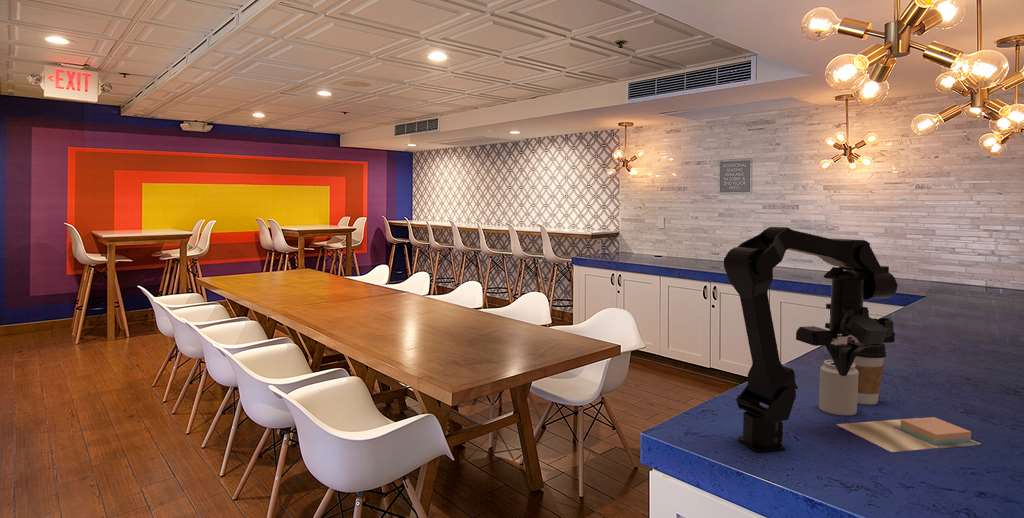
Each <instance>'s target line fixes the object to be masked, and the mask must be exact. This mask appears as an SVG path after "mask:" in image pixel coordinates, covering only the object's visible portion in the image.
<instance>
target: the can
mask: <svg viewBox="0 0 1024 518" xmlns="http://www.w3.org/2000/svg"><path fill="white" fill-rule="evenodd" d="M855 366H856V365H855V364H854V363H852V365H851V368H850V370H849V372H848V374H847V376H841V375H839V373H838V370H837V368H836V366H835V364H834V361H833V359H827V360H826V359H825V360H823V364H822V366H820V368H819V369H820V372H819V391H818V393H819V395H818V408H819V409H820V410H821V411H823V412H826V413H827V414H828V413H829V414H833V415H838V416H854V415H856V414H857V412H858V409H857V408H858V407H857V406H858V403H857V393H858V374H859V372H858V370H857V369H856V368H855Z"/></svg>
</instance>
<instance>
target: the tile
mask: <svg viewBox="0 0 1024 518" xmlns="http://www.w3.org/2000/svg"><path fill="white" fill-rule="evenodd" d="M915 418H916V419H910V418H902V419H903V420H901V426H900V429H901V430H903V431H906V432H908V433H910V434H912V435H914V436H917V437H919V438H921V439H923V440H926V441H928V442H930V443H932V444H935V445H940V444H951V443H962V442H971V440H972V431H971V430H968V429H965V428H962V427H960V426H958V425H955V424H953V423H950V422H947V421H945V420H942V419H940V418H937V417H935V416H933V417H920V418H919V417H915Z"/></svg>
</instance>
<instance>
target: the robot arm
mask: <svg viewBox="0 0 1024 518" xmlns="http://www.w3.org/2000/svg"><path fill="white" fill-rule="evenodd" d="M786 251H792V252H796V253H801V254H806V255H811V256H814V257H815V256H816V257H818V258H820V259H821V261H822V262H825V263H826V264H829V265H831V266H832V267H831V268H830V270H828V271H827V272H825V274H823V278H824V279H828V280H831V292H830V303H826V304H825V309H827V310H829V311H830V312H829V322H825V323H824V327H825V328H822V327H819V326H815V325H813V326H799V327H798V328H797V329H796V332H795V340H796V341H799V342H802V343H804V344H808V345H811V346H815V347H818V346H819V347H820V346H821V347H822V346H823V347H824V346H825V348H826V350H827V351H828V353H829V355H830V357H831V360H833V361H834V364H835V366H836V368H837V370H838V373H839V375H841V376H847V374H848V372H849V370H850V368H851V365H852V363H853V361H854V359H855V357H856V356H857V354H858V353H859V351H861V350H862V349H864V348H866V347H869V346H870V344H876V343H877V344H882V343H883V344H885V343H895V340H896V339H895V336H896V333H895V331H894V320H893V319H891V318H889V317H879V318H878V319H877V318H872V317H870V315H869V313H870V311H869V307H867V306H864V300H865V301H866V300H877V299H878V300H879V299H889V298H892V297H893V296H894V295H895V294H896V293H897V289H898V283H897V280H896V278H895V276H894V275H893V274H892V273H891V272H890V267H889V266H885V265H880V262H879V260H878V259H877V257H876V254H875V252H874V251H873V249H872V248H871V243H870V242H869V241H868V240H864V239H850V238H829V237H825V236H820V235H815V234H812V233H807V232H803V231H799V230H794V229H792V228H790V227H787V226H785V227H784V226H782V227H781V226H769V227H767V228H765V229H764V230H762V231H761V232H760V233H759V234H757V235H755V236H753V237H751V238H748V239H747V240H745V241H743V242H741V243H740V244H739V245H737V246H735V247H733V248H730V250H729V251H728V252H727V253H726V255H725V257H723V267H724V272H725V274H726V276H727V278H728V281H729V283H730V285H731V286H732V287H733V288H734V290H735V291H736V293H737V294H738V295H739V299H740V305H741V309H742V314H743V320H744V326H745V331H746V334H747V335H746V336H747V341H748V347H749V351H750V356H751V367H750V369H749V370H748V373H747V385H746V386H745V387H744V389H743V390H742V391H741V393H740V394H739V395H738V396H737V397H736V399H735V401H736V405H737V408H738V409H740V410H743V421H742V436H741V435H740V436H737V440H738V441H740V442H741V443H743V444H744V445H746V446H747V447H748V448H750V449H751V450H753V451H754V452H756V453H758V452H759V453H760V452H771V451H773V452H774V451H781V450H782V451H783V450H786V448H787V446H785V445H784V444H782V443H783V435H784V422H783V421H788V420H789V419H790V415H791V412H792V409H793V406H794V403H795V400H796V397H797V392H796V390H798V389H799V387H798V386H797V383H796V375H795V371H794V369H793V368H791V367H788V366H785V365H783V364H782V363H781V360H780V355H779V348H778V344H777V340H776V339H777V338H776V333H775V326H774V322H773V316H772V311H771V306H770V300H769V294H768V291H769V289H770V286H771V284H772V282H773V280H774V273H773V272H774V268H775V267H777V265H778V264H780V263H781V262H782V261H783V259H784V256H785V253H786ZM765 405H766V406H765ZM767 406H768V407H767Z"/></svg>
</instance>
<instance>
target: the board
mask: <svg viewBox="0 0 1024 518" xmlns="http://www.w3.org/2000/svg"><path fill="white" fill-rule="evenodd" d="M916 418H917V417H913V418H909V419H916ZM903 419H904V418H899V419H898V418H897V419H887V420H875V421H873V420H872V421H863V422H861V421H860V422H850V423H849V422H847V423H837V424H836V426H838V427H840V428H842V429H845V430H846V431H848V432H850V433H852V434H854V435H856V436H858V437H861V438H862V439H864V440H866V441H868V442H870V443H872V444H875V446H879V447H880V448H882V449H884V450H886V451H888V452H891V453H897V452H898V453H900V452H908V451H909V452H910V451H919V450H930V449H942V450H943V449H944V450H945V449H952V448H962V447H963V448H964V447H973V446H974V447H976V446H982V443H981V442H977V441H976V440H972V439H971V442H962V443H951V444H940V445H935V444H932V443H930V442H928V441H926V440H923V439H921V438H919V437H917V436H914V435H912V434H910V433H908V432H906V431H903V430H901V429H900V426H901V420H903Z"/></svg>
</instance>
